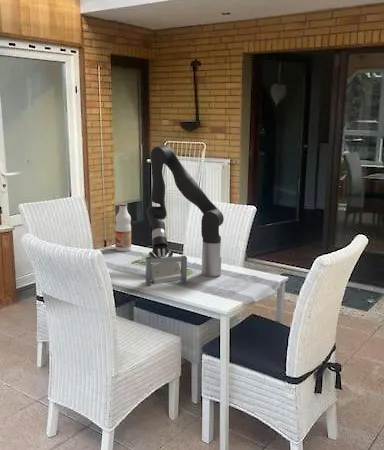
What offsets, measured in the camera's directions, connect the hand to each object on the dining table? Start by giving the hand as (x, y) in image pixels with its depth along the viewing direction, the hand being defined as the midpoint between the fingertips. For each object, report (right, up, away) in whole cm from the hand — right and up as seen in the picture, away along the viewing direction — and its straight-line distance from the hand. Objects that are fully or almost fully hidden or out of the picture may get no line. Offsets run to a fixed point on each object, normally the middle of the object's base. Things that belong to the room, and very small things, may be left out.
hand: (162, 269), depth 245 cm
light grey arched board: (+1, -5, -2) cm, 5 cm away
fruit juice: (-27, +7, +52) cm, 59 cm away
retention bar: (+2, -6, -9) cm, 11 cm away
